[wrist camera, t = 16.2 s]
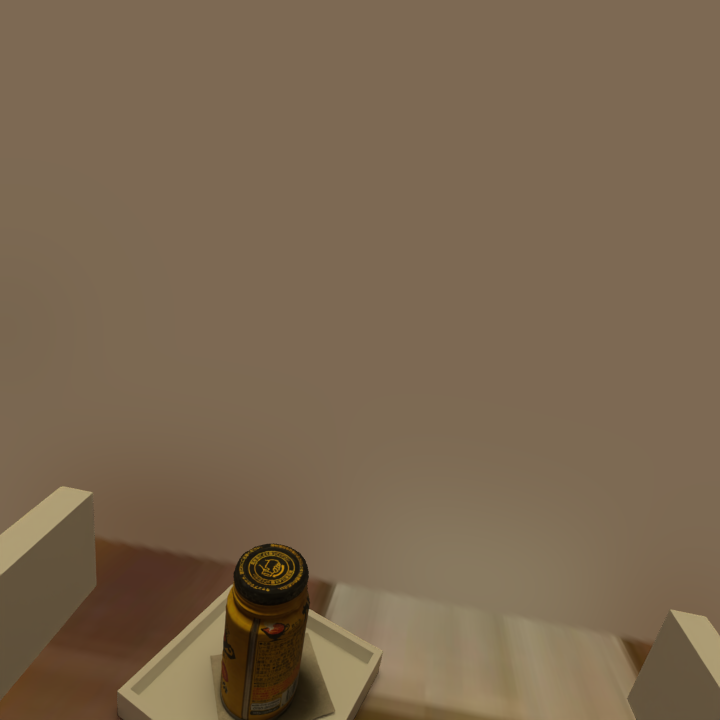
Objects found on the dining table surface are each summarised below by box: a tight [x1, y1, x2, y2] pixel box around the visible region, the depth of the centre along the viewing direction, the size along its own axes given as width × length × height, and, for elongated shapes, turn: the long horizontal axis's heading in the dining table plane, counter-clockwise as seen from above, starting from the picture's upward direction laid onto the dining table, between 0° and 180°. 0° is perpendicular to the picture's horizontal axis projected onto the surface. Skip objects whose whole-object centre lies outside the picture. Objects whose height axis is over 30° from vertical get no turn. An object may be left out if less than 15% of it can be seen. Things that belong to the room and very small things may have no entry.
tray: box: [117, 584, 383, 720], centre depth 38 cm, size 15×14×2 cm
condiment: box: [210, 544, 335, 720], centre depth 36 cm, size 7×8×12 cm
